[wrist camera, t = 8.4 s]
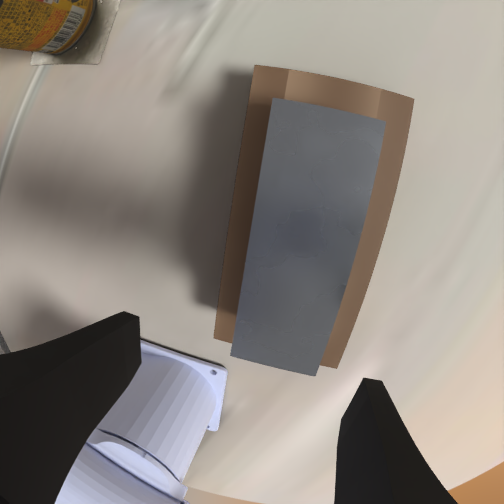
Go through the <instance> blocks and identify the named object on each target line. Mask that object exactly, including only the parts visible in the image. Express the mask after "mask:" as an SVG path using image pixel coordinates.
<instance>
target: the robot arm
mask: <svg viewBox="0 0 504 504" xmlns="http://www.w3.org/2000/svg"><path fill="white" fill-rule="evenodd" d="M213 370H215V371H216V372H215V371H213ZM227 374H228V372H227V370H226V369H225V368H224V367H221V366H218V365H215V364H211V363H208V362H205V361H202V360H198V359H195V358H192V357H189V356H186V355H183V354H180V353H177V352H174V351H171V350H168V349H165V348H162V347H160V346H157V345H154V344H151V343H148V342H146V341H143V340H140V321H139V317H138V316H136V315H133V314H130V313H127V312H125V311H123V312H120V313H118V314H115V315H113V316H110V317H108V318H106V319H103V320H101V321H99V322H96V323H94V324H92V325H89V326H87V327H85V328H82V329H80V330H77V331H75V332H73V333H70V334H68V335H65V336H63V337H60V338H57V339H54V340H52V341H49V342H46V343H44V344H41V345H38V346H34V347H31V348H28V349H24V350H20V351H16V352H12V353H7V354H1V355H0V504H190V503H189V502H188V501H186V500H184V499H183V498H184V496H185V494H186V492H187V489H188V487H186V486H185V485H183V484H181V483H182V481H183V479H184V477H185V475H186V473H187V471H188V468H189V466H190V464H191V462H192V460H193V457H194V455H195V453H196V451H197V449H198V446H199V444H200V442H201V440H202V438H203V435H204V433H205V431H206V429H208V430H211V431H217V430H218V427H219V422H220V416H221V410H222V404H223V398H224V392H225V386H226V380H227ZM334 504H458V503H457V502H456V501H455V500H454V499H453V497H452V496H451V495H450V494H449V493H448V491H447V490H446V489H445V488H444V486H443V485H442V484H441V482H440V481H439V480H438V478H437V477H436V475H435V474H434V473H433V471H432V470H431V468H430V467H429V466H428V464H427V462H426V461H425V459H424V458H423V456H422V454H421V453H420V451H419V450H418V448H417V446H416V445H415V443H414V441H413V439H412V438H411V436H410V434H409V432H408V430H407V428H406V427H405V425H404V423H403V421H402V419H401V417H400V415H399V413H398V411H397V409H396V407H395V405H394V403H393V402H392V400H391V398H390V396H389V394H388V392H387V390H386V388H385V386H384V384H383V382H382V381H380V380H374V379H368V378H363V380H362V382H361V384H360V386H359V387H358V389H357V391H356V393H355V395H354V397H353V399H352V401H351V403H350V404H349V406H348V408H347V410H346V412H345V413H344V415H343V417H342V419H341V424H340V431H339V437H338V444H337V461H336V483H335V501H334Z"/></svg>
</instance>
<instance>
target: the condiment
mask: <svg viewBox="0 0 504 504" xmlns="http://www.w3.org/2000/svg"><path fill="white" fill-rule="evenodd" d="M102 1H103V2H102V3H100V0H0V48H7V49H17V50H25V51H31V52H33V54H32V58H31V62H30V65H44V64H99V62H100V59H101V56H102V53H103V51H104V48H105V45H106V42H107V39H108V35H109V32H110V30H111V27H112V24H113V21H114V18H115V15H116V12H117V11H118V9H119V4H120V0H102ZM76 47H77V49H75V48H76Z"/></svg>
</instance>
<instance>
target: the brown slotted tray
mask: <svg viewBox="0 0 504 504" xmlns="http://www.w3.org/2000/svg"><path fill="white" fill-rule="evenodd" d="M273 98H279V99H286V100H292V101H298V102H303V103H309V104H314V105H319V106H324V107H329V108H333V109H338V110H343V111H347V112H351V113H355V114H360V115H364V116H367V117H371V118H375V119H379V120H383V121H386V126H385V131H384V137H383V142H382V147H381V152H380V157H379V162H378V167H377V171H376V176H375V180H374V185H373V189H372V193H371V198H370V202H369V206H368V210H367V214H366V218H365V222H364V226H363V230H362V233H361V237H360V241H359V244H358V248H357V252H356V255H355V259H354V262H353V266H352V269H351V272H350V276H349V279H348V282H347V286H346V289H345V292H344V295H343V298H342V302H341V305H340V308H339V311H338V314H337V317H336V320H335V323H334V326H333V329H332V332H331V335H330V337H329V340H328V343H327V346H326V349H325V351H324V354H323V357H322V360H321V362H320V365H321V366H326V367H331V368H336V369H337V367H338V365H339V362H340V360H341V358H342V355H343V353H344V350H345V348H346V345H347V343H348V340H349V338H350V335H351V332H352V330H353V327H354V324H355V322H356V319H357V316H358V314H359V311H360V308H361V305H362V303H363V300H364V297H365V294H366V291H367V288H368V285H369V282H370V279H371V276H372V273H373V270H374V267H375V264H376V260H377V257H378V254H379V251H380V247H381V244H382V241H383V237H384V234H385V230H386V227H387V223H388V220H389V216H390V212H391V208H392V204H393V201H394V197H395V193H396V189H397V184H398V180H399V176H400V171H401V167H402V162H403V158H404V153H405V148H406V143H407V138H408V133H409V128H410V122H411V116H412V110H413V104H414V99H413V98H410V97H407V96H404V95H400V94H397V93H394V92H390V91H387V90H383V89H380V88H376V87H372V86H368V85H365V84H361V83H356V82H352V81H348V80H344V79H339V78H334V77H330V76H325V75H320V74H314V73H309V72H303V71H297V70H290V69H284V68H277V67H269V66H261V65H255V67H254V72H253V78H252V83H251V89H250V95H249V101H248V106H247V112H246V118H245V124H244V130H243V136H242V142H241V149H240V155H239V161H238V167H237V174H236V180H235V187H234V193H233V200H232V206H231V213H230V220H229V227H228V233H227V240H226V247H225V255H224V262H223V269H222V276H221V284H220V291H219V299H218V306H217V314H216V322H215V330H214V338H215V339H218V340H221V341H225V342H228V343H232V342H233V336H234V330H235V323H236V317H237V311H238V305H239V299H240V292H241V286H242V280H243V274H244V268H245V262H246V255H247V249H248V243H249V237H250V231H251V225H252V219H253V213H254V207H255V201H256V195H257V189H258V183H259V177H260V171H261V165H262V159H263V153H264V147H265V141H266V135H267V129H268V123H269V117H270V111H271V105H272V99H273Z"/></svg>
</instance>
